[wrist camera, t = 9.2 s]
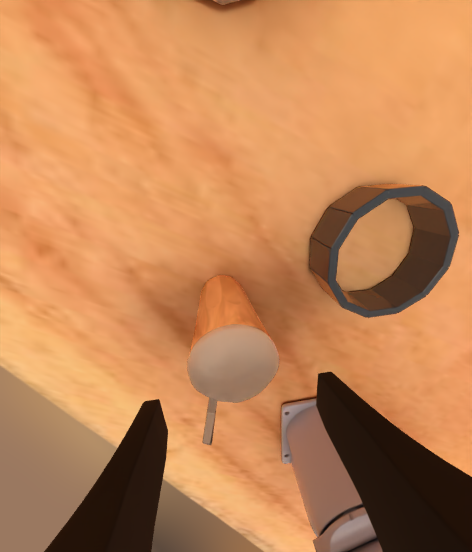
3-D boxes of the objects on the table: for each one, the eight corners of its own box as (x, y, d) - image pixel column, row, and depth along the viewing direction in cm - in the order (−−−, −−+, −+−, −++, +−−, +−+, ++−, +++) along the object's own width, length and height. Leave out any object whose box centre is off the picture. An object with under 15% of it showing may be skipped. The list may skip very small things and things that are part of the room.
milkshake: (179, 313, 20) (159, 433, 10) (209, 256, 18) (216, 339, 9) (228, 332, 21) (248, 454, 12) (260, 281, 19) (311, 375, 10)
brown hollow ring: (406, 290, 22) (438, 308, 19) (307, 303, 21) (324, 324, 18) (431, 179, 18) (475, 180, 15) (312, 190, 17) (335, 193, 14)
